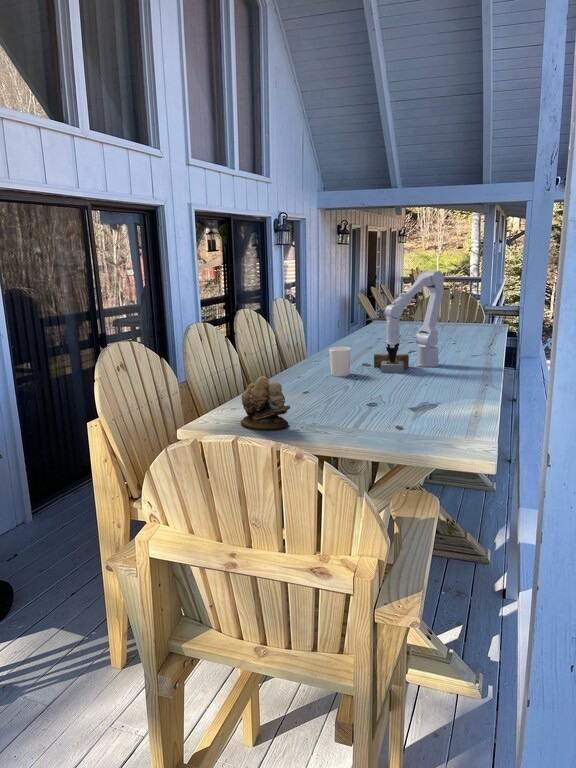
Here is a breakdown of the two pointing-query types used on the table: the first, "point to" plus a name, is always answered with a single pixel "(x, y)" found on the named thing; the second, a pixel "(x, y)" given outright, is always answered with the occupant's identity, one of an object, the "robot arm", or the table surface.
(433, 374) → the table surface
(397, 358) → the walnut wall
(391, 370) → the socket block
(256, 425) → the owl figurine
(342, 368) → the candle holder
